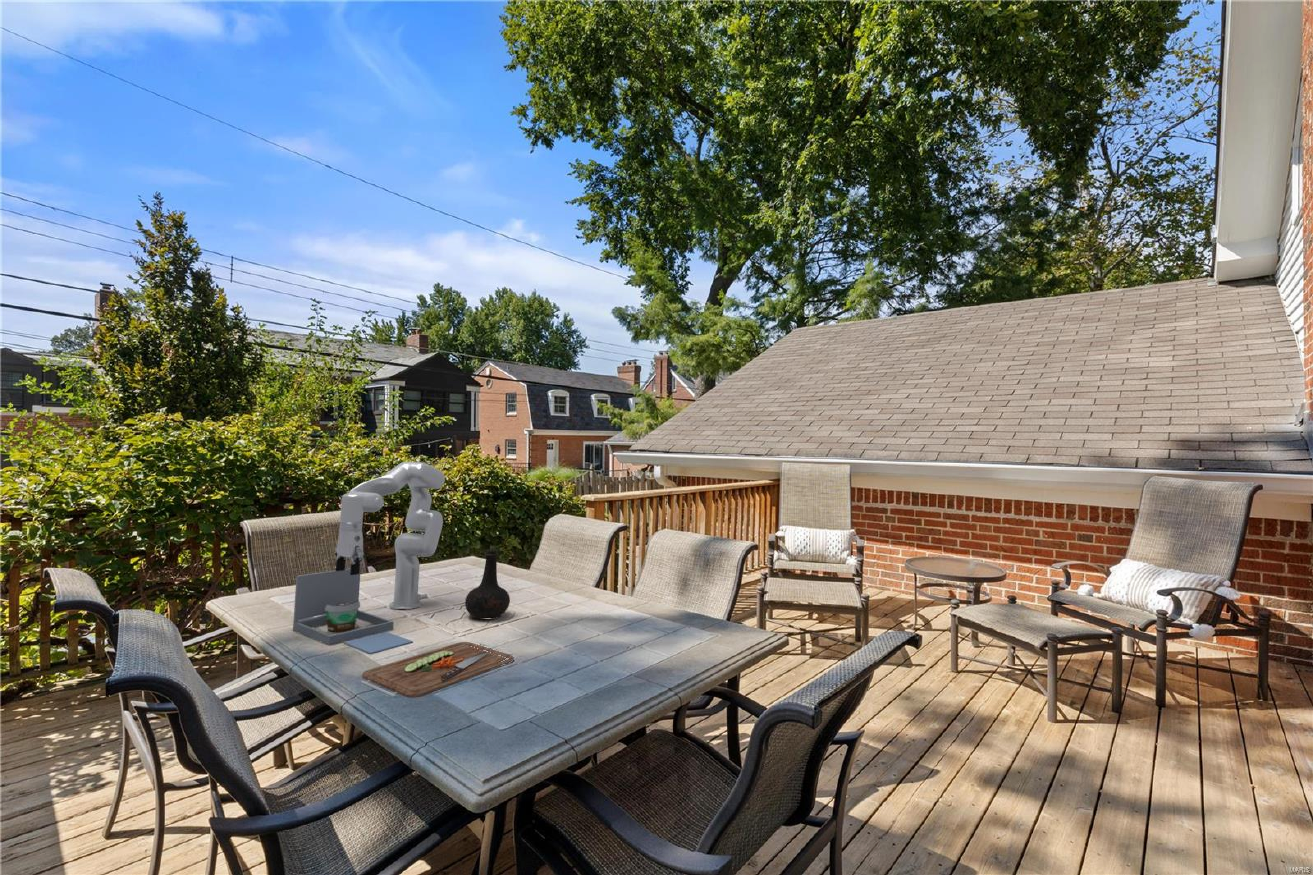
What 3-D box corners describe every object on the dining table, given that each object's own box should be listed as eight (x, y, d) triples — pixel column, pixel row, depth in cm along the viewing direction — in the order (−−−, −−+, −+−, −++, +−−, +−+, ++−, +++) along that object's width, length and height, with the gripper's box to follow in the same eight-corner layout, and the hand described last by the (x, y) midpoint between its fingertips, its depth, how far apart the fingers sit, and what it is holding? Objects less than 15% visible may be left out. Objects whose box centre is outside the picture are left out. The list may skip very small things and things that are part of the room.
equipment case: (356, 616, 235) (359, 566, 236) (393, 629, 222) (396, 576, 222) (292, 630, 215) (296, 575, 215) (329, 645, 201) (333, 587, 202)
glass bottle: (455, 619, 238) (459, 550, 239) (480, 608, 256) (484, 544, 256) (493, 625, 233) (497, 555, 234) (516, 614, 250) (520, 548, 251)
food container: (330, 635, 211) (332, 608, 211) (323, 632, 215) (325, 604, 215) (365, 628, 221) (366, 602, 221) (357, 625, 225) (358, 599, 225)
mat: (386, 633, 217) (386, 631, 217) (412, 642, 208) (412, 641, 208) (343, 643, 204) (343, 642, 204) (370, 654, 195) (370, 652, 195)
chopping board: (470, 642, 213) (470, 634, 213) (523, 659, 199) (523, 650, 199) (350, 679, 175) (350, 669, 175) (404, 704, 161) (405, 692, 161)
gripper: (373, 528, 217) (370, 574, 217) (348, 523, 227) (344, 568, 226) (354, 529, 211) (350, 577, 210) (328, 524, 220) (324, 570, 220)
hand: (347, 572), depth 218 cm, fingers open, 9 cm apart
